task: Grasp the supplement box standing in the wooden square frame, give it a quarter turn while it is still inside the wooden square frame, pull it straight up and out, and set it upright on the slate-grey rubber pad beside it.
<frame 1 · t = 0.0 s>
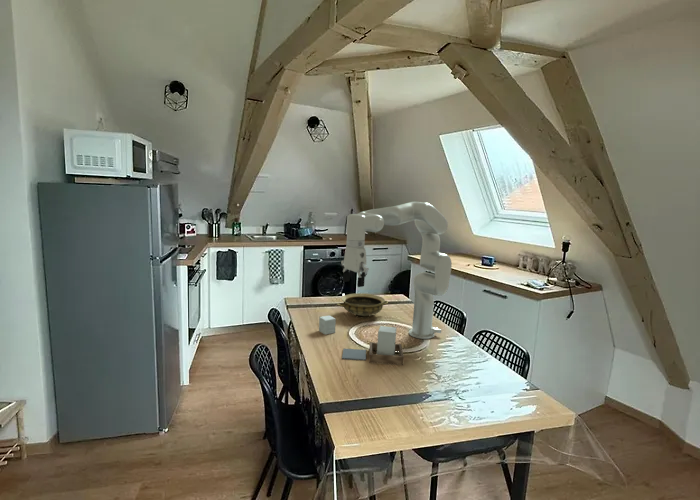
hand: (353, 283, 177), 31 cm above the table, tool pointing down, fingers open, 9 cm apart
wooden square frame: (385, 357, 180), on the table
ceramic bowl: (362, 316, 234), on the table
supplement box: (385, 357, 180), resting in wooden square frame
product box: (326, 332, 207), on the table
pad: (354, 355, 181), on the table
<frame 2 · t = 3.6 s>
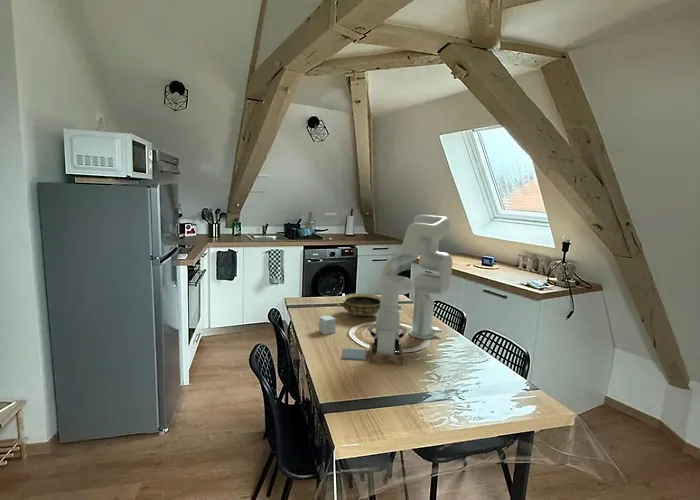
hand: (386, 347, 180), 4 cm above the table, tool pointing down, fingers closed on supplement box, 7 cm apart
supplement box: (385, 357, 180), resting in wooden square frame, touching gripper
everything else where it was.
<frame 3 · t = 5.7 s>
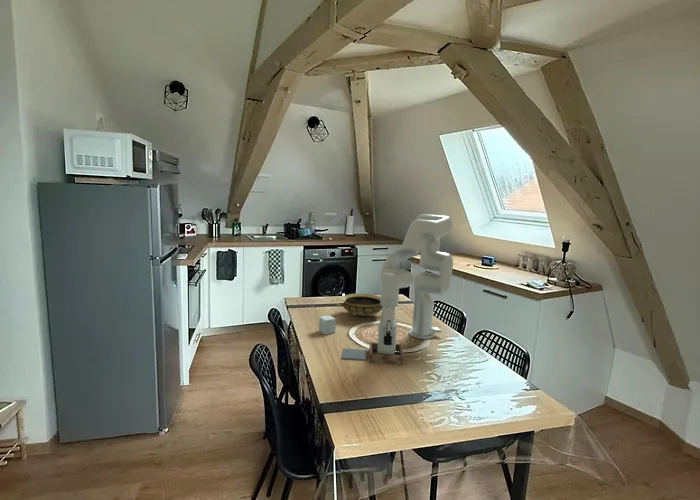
hand: (387, 340, 180), 7 cm above the table, tool pointing down, fingers closed on supplement box, 7 cm apart
supplement box: (386, 351, 180), point 3 cm above the table, touching gripper
everything else where it was.
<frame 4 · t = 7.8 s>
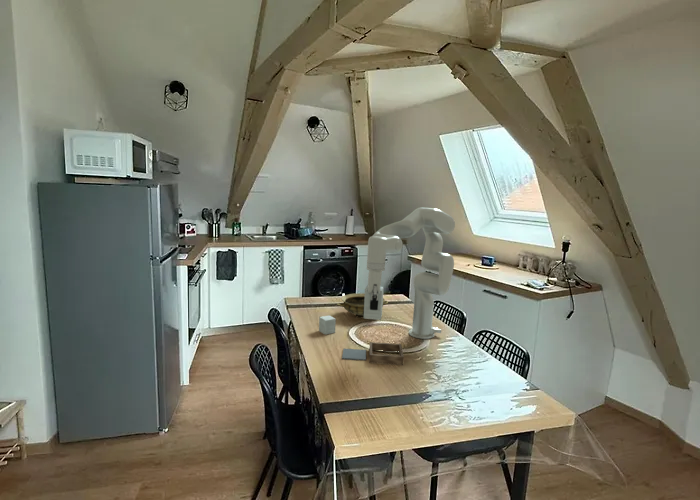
hand: (373, 306, 177), 22 cm above the table, tool pointing down, fingers closed on supplement box, 7 cm apart
supplement box: (372, 317, 178), point 18 cm above the table, touching gripper
everything else where it was.
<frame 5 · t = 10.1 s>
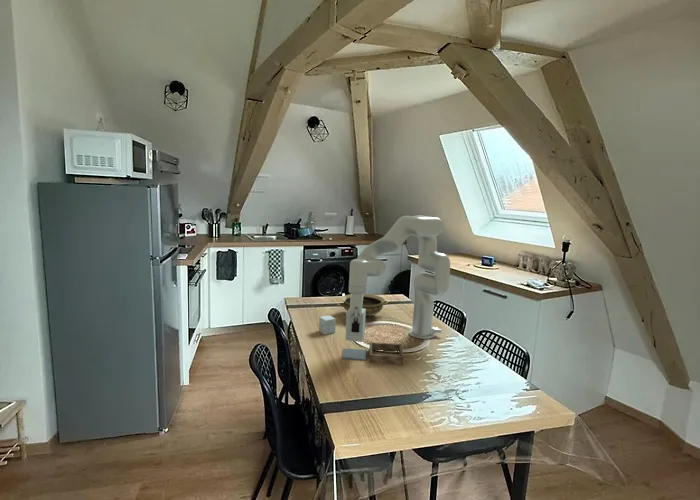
hand: (355, 328, 179), 12 cm above the table, tool pointing down, fingers closed on supplement box, 7 cm apart
supplement box: (354, 338, 180), point 7 cm above the table, touching gripper
everything else where it was.
when the fingers open (6 cm above the table, at t = 11.9 s): supplement box stays where it is, resting on pad.
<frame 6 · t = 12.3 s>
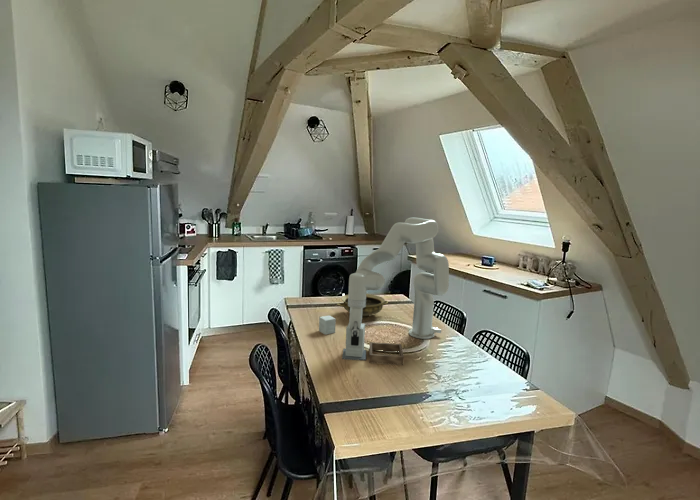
hand: (355, 340, 180), 6 cm above the table, tool pointing down, fingers open, 9 cm apart
supplement box: (354, 353, 181), resting on pad
everything else where it was.
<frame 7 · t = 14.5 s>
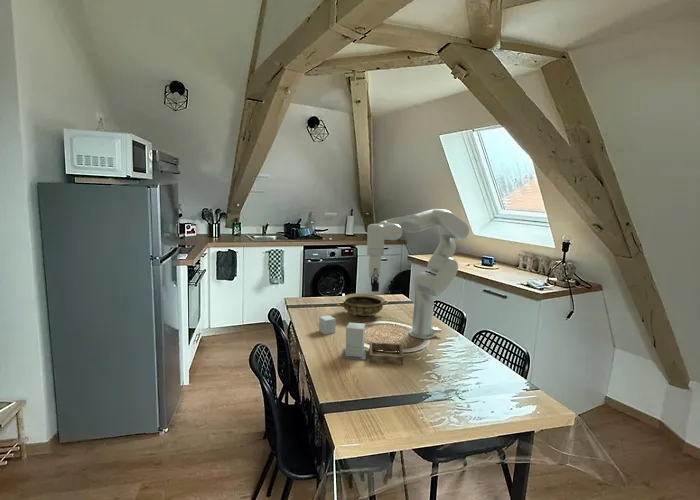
hand: (374, 288, 191), 26 cm above the table, tool pointing down, fingers open, 9 cm apart
nothing on the table moved.
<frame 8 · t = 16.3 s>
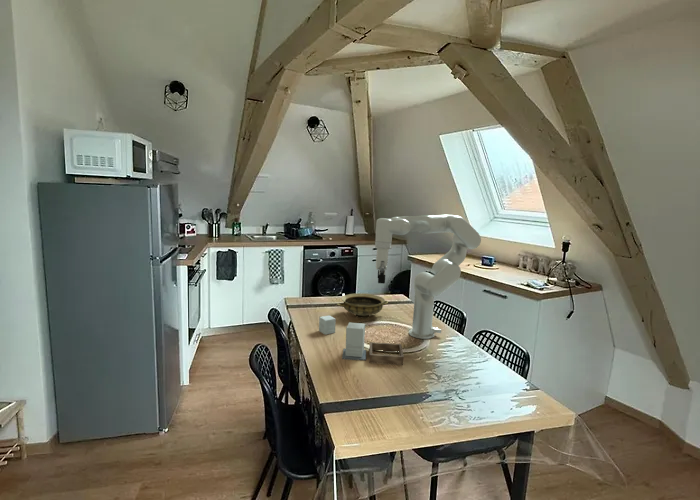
hand: (381, 280, 198), 28 cm above the table, tool pointing down, fingers open, 9 cm apart
nothing on the table moved.
at the end: supplement box inside the target area on the pad (0.4 cm from its centre), point 0.4 cm above the pad's base; supplement box tilted 0°; the gripper is holding nothing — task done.
